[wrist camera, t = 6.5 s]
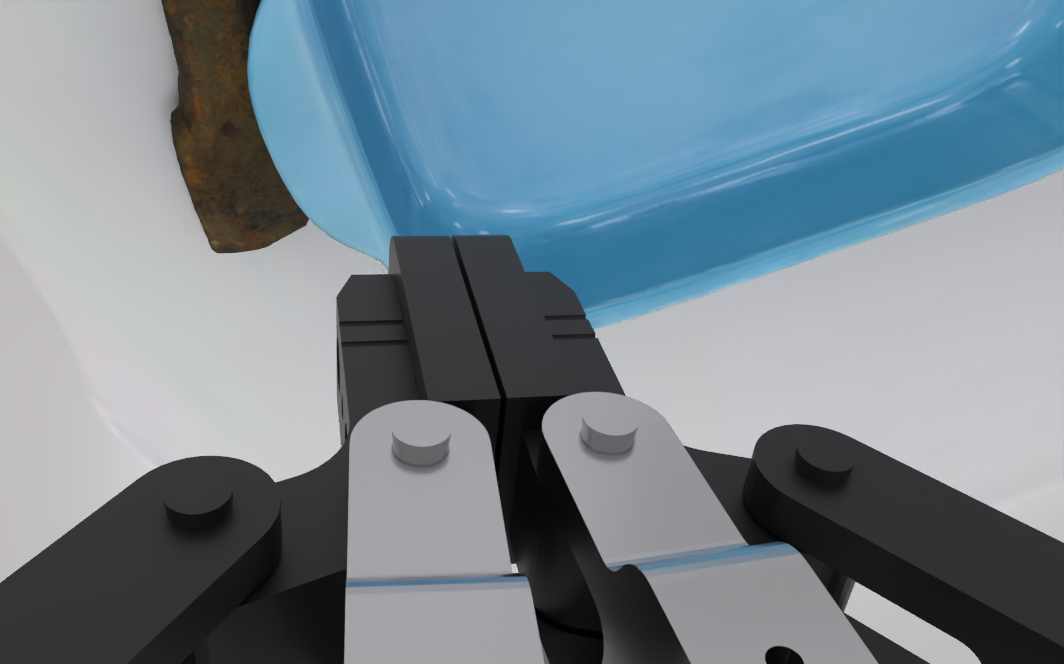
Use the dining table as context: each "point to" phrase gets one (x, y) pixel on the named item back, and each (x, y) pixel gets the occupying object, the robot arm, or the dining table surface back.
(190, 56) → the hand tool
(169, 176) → the dining table surface
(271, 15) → the casserole dish
